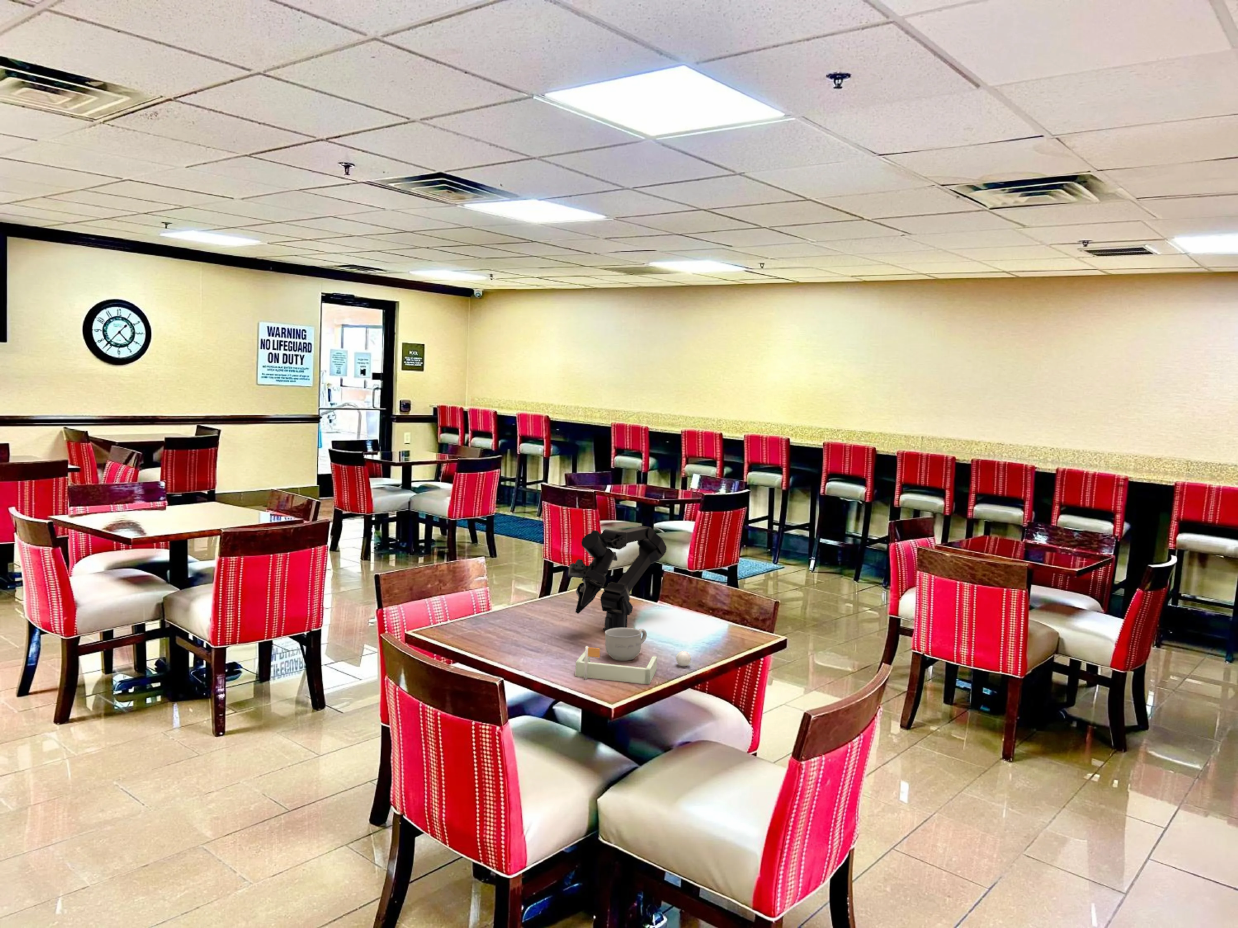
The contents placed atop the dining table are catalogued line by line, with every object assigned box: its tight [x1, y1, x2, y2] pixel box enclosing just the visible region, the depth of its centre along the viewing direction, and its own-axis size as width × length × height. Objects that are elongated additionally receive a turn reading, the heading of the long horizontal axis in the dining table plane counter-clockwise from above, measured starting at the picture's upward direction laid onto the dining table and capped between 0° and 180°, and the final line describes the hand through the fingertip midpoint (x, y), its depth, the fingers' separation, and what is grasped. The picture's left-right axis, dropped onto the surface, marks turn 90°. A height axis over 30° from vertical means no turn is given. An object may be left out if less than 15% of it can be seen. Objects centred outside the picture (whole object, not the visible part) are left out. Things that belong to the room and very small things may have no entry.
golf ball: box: [675, 650, 692, 667], centre depth 251 cm, size 4×4×4 cm
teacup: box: [604, 627, 648, 662], centre depth 257 cm, size 14×11×8 cm
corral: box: [574, 645, 658, 685], centre depth 241 cm, size 14×20×9 cm
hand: (579, 609), depth 266 cm, fingers open, 9 cm apart
